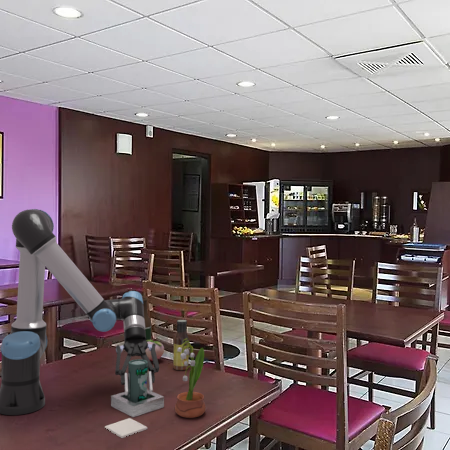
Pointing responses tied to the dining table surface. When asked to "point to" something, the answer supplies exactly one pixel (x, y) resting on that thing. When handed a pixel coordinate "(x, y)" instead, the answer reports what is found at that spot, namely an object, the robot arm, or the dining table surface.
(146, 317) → the beer bottle
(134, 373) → the can
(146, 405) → the collar
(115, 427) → the tile
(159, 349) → the decorative fruit
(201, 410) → the potted flower
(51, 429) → the dining table surface
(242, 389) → the dining table surface
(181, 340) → the sauce bottle
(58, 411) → the dining table surface
